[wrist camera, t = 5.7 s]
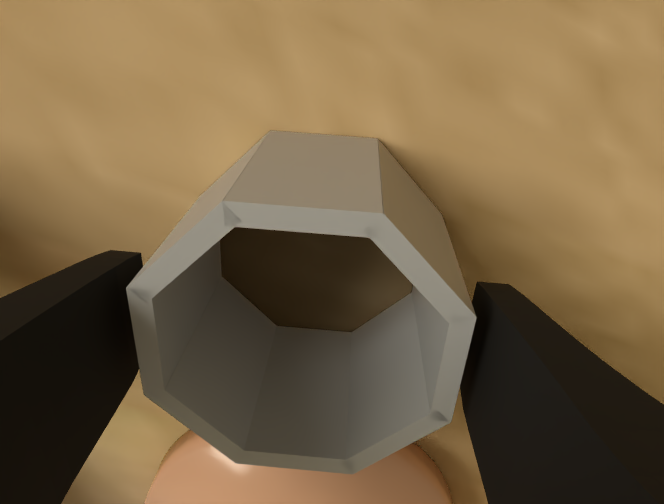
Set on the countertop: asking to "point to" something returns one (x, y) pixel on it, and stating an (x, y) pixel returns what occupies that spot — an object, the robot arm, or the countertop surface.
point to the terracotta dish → (292, 480)
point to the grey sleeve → (301, 343)
